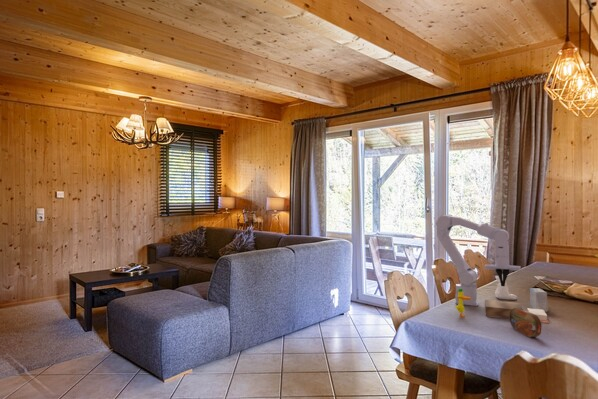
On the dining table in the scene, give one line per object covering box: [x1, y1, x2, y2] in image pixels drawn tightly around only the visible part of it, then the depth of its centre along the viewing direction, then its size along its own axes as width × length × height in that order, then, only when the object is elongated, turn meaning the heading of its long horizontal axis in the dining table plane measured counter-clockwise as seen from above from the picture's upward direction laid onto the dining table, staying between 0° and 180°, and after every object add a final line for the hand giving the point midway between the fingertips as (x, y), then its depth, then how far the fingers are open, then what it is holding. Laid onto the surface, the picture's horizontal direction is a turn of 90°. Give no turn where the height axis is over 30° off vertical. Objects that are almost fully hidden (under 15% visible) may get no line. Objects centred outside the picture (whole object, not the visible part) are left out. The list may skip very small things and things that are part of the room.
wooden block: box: [484, 299, 523, 319], centre depth 169 cm, size 14×12×4 cm
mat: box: [540, 319, 550, 324], centre depth 164 cm, size 9×14×1 cm, turn 156°
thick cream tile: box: [526, 307, 548, 320], centre depth 164 cm, size 6×9×2 cm, turn 156°
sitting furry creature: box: [494, 273, 518, 301], centre depth 195 cm, size 10×9×12 cm
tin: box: [509, 308, 542, 338], centre depth 146 cm, size 15×3×8 cm, turn 5°
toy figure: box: [454, 288, 471, 318], centre depth 166 cm, size 7×4×12 cm, turn 54°
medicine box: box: [529, 287, 548, 313], centre depth 176 cm, size 8×4×9 cm, turn 169°
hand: (502, 285), depth 177 cm, fingers closed
